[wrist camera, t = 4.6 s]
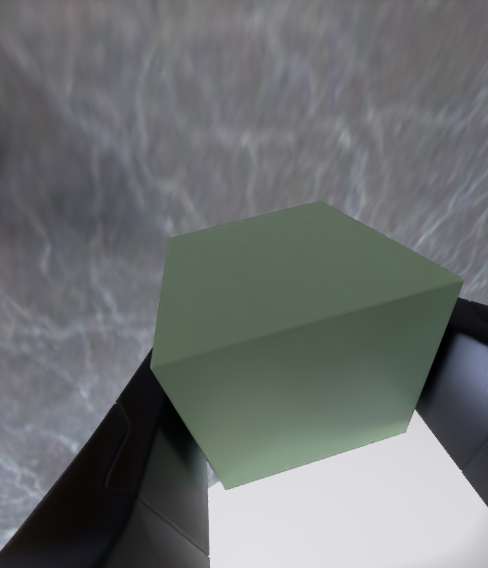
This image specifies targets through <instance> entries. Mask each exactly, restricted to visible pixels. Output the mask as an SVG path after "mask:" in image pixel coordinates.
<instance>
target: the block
mask: <svg viewBox="0 0 488 568" xmlns="http://www.w3.org/2000/svg"><path fill="white" fill-rule="evenodd" d="M463 282H464V279H463V278H462V277H460V276H458V275H456V274H454V273H453V272H451V271H449V270H447V269H445V268H443V267H441V266H440V265H438V264H436V263H434V262H432V261H430V260H429V259H427V258H425V257H423V256H421V255H419V254H418V253H416V252H414V251H412V250H410V249H408V248H407V247H405V246H403V245H401V244H399V243H397V242H396V241H394V240H392V239H390V238H388V237H386V236H385V235H383V234H381V233H379V232H377V231H375V230H374V229H372V228H370V227H368V226H366V225H364V224H363V223H361V222H359V221H357V220H355V219H353V218H352V217H350V216H348V215H346V214H344V213H342V212H341V211H339V210H337V209H335V208H333V207H331V206H330V205H328V204H326V203H324V202H322V201H317V202H313V203H309V204H305V205H301V206H297V207H293V208H289V209H285V210H281V211H277V212H273V213H269V214H265V215H261V216H257V217H253V218H248V219H244V220H240V221H236V222H232V223H228V224H224V225H220V226H216V227H212V228H208V229H204V230H200V231H196V232H192V233H188V234H184V235H179V236H175V237H171V238H169V240H168V247H167V254H166V261H165V268H164V275H163V281H162V288H161V295H160V302H159V309H158V316H157V323H156V330H155V337H154V344H153V351H152V358H151V365H150V368H151V370H152V371H153V373H154V375H155V376H156V378H157V380H158V381H159V383H160V384H161V386H162V388H163V389H164V391H165V393H166V394H167V396H168V397H169V399H170V401H171V402H172V404H173V406H174V407H175V409H176V410H177V412H178V414H179V415H180V417H181V419H182V420H183V422H184V423H185V425H186V427H187V428H188V430H189V432H190V433H191V435H192V436H193V438H194V440H195V441H196V443H197V445H198V446H199V448H200V449H201V451H202V453H203V454H204V456H205V458H206V459H207V461H208V462H209V464H210V466H211V467H212V469H213V471H214V472H215V474H216V475H217V477H218V479H219V480H220V482H221V483H222V485H223V487H224V488H225V490H228V489H231V488H234V487H237V486H240V485H244V484H247V483H250V482H253V481H256V480H259V479H262V478H265V477H268V476H272V475H275V474H278V473H281V472H284V471H287V470H290V469H293V468H297V467H300V466H303V465H306V464H309V463H312V462H315V461H318V460H321V459H325V458H328V457H331V456H334V455H337V454H340V453H343V452H346V451H349V450H352V449H356V448H359V447H362V446H365V445H368V444H371V443H374V442H378V441H380V440H384V439H386V438H390V437H393V436H396V435H399V434H402V433H405V432H406V430H407V428H408V425H409V422H410V420H411V418H412V415H413V412H414V410H415V407H416V405H417V402H418V399H419V397H420V394H421V392H422V389H423V386H424V384H425V381H426V379H427V376H428V373H429V371H430V368H431V366H432V363H433V360H434V358H435V355H436V353H437V350H438V347H439V345H440V342H441V340H442V337H443V334H444V332H445V329H446V327H447V324H448V321H449V319H450V316H451V314H452V311H453V308H454V306H455V303H456V301H457V298H458V295H459V293H460V290H461V288H462V285H463Z"/></svg>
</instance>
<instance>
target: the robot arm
mask: <svg viewBox="0 0 488 568" xmlns="http://www.w3.org/2000/svg"><path fill="white" fill-rule="evenodd" d="M152 351H153V348H152V349H151V350H150V352H149V353H148V355H147V356H146V358H145V359H144V361H143V362H142V364H141V365H140V367H139V368H138V370H137V371H136V373H135V374H134V375H133V377H132V378H131V380H130V381H129V383H128V384H127V386H126V387H125V389H124V390H123V392H122V393H121V395H120V396H119V397H118V399H117V400H116V403H117V404H114V405H113V406H112V408H111V409H110V410H109V412H108V413H107V415H106V416H105V418H104V419H103V421H102V422H101V423H100V425H99V426H98V428H97V429H96V430H95V432H94V433H93V435H92V436H91V438H90V439H89V440H88V442H87V443H86V444H85V445H84V447H83V448H82V449H81V451H80V452H79V453H78V455H77V456H76V457H75V459H74V460H73V461H72V462H71V464H70V465H69V466H68V468H67V469H66V470H65V471H64V473H63V474H62V475H61V476H60V478H59V479H58V480H57V481H56V483H55V484H54V485H53V486H52V488H51V489H50V490H49V492H48V493H47V494H46V495H45V497H44V498H43V499H42V500H41V502H40V503H39V504H38V505H37V507H36V508H35V509H34V510H33V512H32V513H31V514H30V516H29V517H28V518H27V519H26V521H25V522H24V523H23V524H22V526H21V527H20V528H19V529H18V531H17V532H16V533H15V534H14V536H13V537H12V538H11V539H10V540H9V542H8V543H7V544H6V545H5V546H4V548H3V549H2V550H1V551H0V568H210V558H209V557H208V556H209V520H208V481H207V459H206V458H205V456H204V454H203V453H202V451H201V449H200V448H199V446H198V445H197V443H196V441H195V440H194V438H193V436H192V435H191V433H190V432H189V430H188V428H187V427H186V425H185V423H184V422H183V420H182V419H181V417H180V415H179V414H178V412H177V410H176V409H175V407H174V406H173V404H172V402H171V401H170V399H169V397H168V396H167V394H166V393H165V391H164V389H163V388H162V386H161V384H160V383H159V381H158V380H157V378H156V376H155V375H154V373H153V371H152V370H151V368H150V365H151V358H152ZM415 410H416V411H417V412H418V414H419V415H420V416H421V418H422V419H423V421H424V422H425V423H426V424H427V426H428V427H429V429H430V430H431V431H432V433H433V434H434V435H435V437H436V438H437V439H438V440H439V442H440V443H441V445H442V446H443V447H444V449H445V450H446V451H447V453H448V454H449V455H450V457H451V458H452V459H453V461H454V462H455V463H456V465H457V466H458V467H459V469H460V470H462V473H463V475H464V476H465V477H466V479H467V480H468V481H469V482H470V484H471V485H472V487H473V488H474V489H475V491H476V492H477V493H478V494H479V496H480V497H481V499H482V500H483V501H484V502H485V504H486V505H487V507H488V306H487V305H484V304H480V303H477V302H473V301H470V302H469V301H468V300H466V299H462V298H459V297H458V298H457V301H456V303H455V306H454V308H453V311H452V314H451V316H450V319H449V321H448V324H447V327H446V329H445V332H444V334H443V337H442V340H441V342H440V345H439V347H438V350H437V353H436V355H435V358H434V360H433V363H432V366H431V368H430V371H429V373H428V376H427V379H426V381H425V384H424V386H423V389H422V392H421V394H420V397H419V399H418V402H417V405H416V407H415Z"/></svg>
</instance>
